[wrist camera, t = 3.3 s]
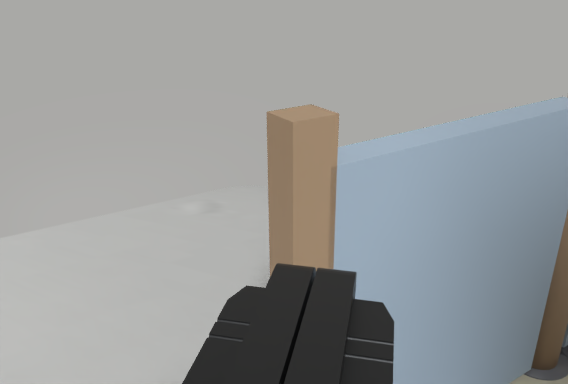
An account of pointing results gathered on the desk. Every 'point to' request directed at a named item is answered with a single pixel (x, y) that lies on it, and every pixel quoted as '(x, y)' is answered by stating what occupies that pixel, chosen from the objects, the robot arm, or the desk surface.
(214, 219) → the desk surface
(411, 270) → the fence panel
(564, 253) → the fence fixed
